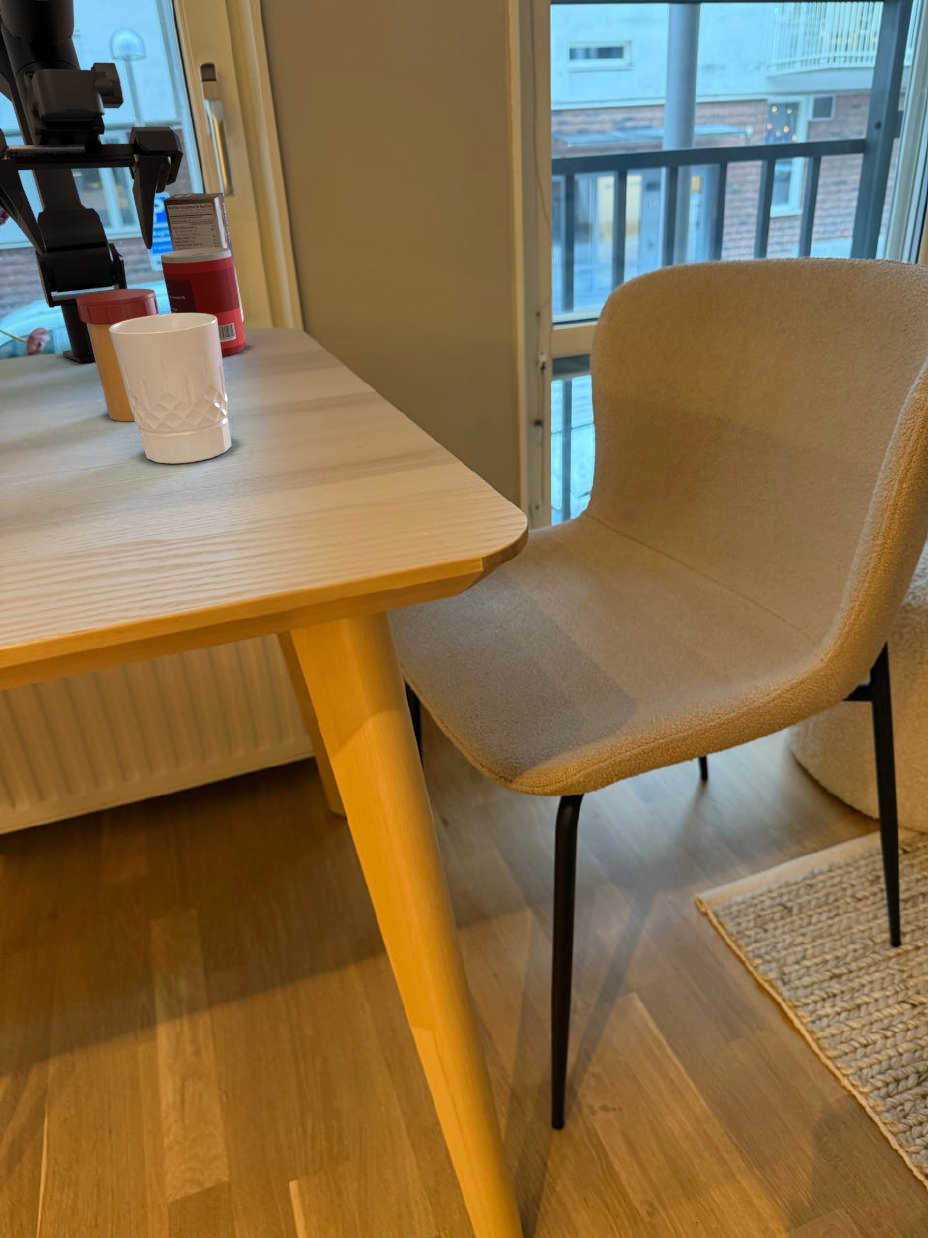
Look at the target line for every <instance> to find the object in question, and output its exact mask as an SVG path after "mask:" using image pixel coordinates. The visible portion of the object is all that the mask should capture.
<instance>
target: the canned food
mask: <svg viewBox="0 0 928 1238" xmlns="http://www.w3.org/2000/svg"><path fill="white" fill-rule="evenodd" d="M160 259H161V260H160V262H161V268H162V274H163V279H164V283H165V288H166V289H165V290H166V295H167V298H168V304H169V310H170V314H174V313H204V314H210V315H214V316H216V317H217V321H218V329H219V337H220V344H221V352H222V358H223V357H228V356H232V355H236V354H238V353H241V352H242V351H243V350H244V349H245V347H246V346H245V345H246V337H245V330H244V324H243V323H244V322H243V323H242V316H241V310H240V304H239V297H238V291H237V285H236V278H235V272H234V266H233V261H232V255H231V252H230V249H227V248H198V249H187V250H179V251H173V250H172V251H167V252H165V253H162V254H161V255H160Z"/></svg>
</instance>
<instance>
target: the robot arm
mask: <svg viewBox="0 0 928 1238" xmlns="http://www.w3.org/2000/svg"><path fill="white" fill-rule="evenodd" d="M74 30H75V9H74V0H0V93H1V94H2V95H3V96H4V97H5V98H6V99H7V100H9V102H10V103H11V104H12V108H13V110H14V114H15V117H16V121H17V125H18V129H19V131H20V132H19V133H20V135H21V139H22V142H23V144H18V145H17V144H16V145H13V144H12V145H8V143H7V140H6V137H5V133H4V131H3V129H2V128H1V127H0V208H1V209H2V210H3V211H4V212H5V213H6V214H7V216H9V218H10V219H12V220H13V221H14V223H15V224H16V225H17V226H18V228H19V229H20V230H21V231H22V234H24V236H25V237H26V238H27V239H28V241H29V242H30V243H31V245H32V246H33V248H34V255H35V259H36V264H37V270H38V275H39V280H40V285H41V288H42V291H43V296H44V298H45V303H46V304H47V307H48V308H50V309H53V308H55V307H60V310H61V314H62V317H63V322H64V326H65V328H66V334H67V338H68V340H69V345H70V349H68V350H63V351H62V355H63V356H64V357H66V358H68V359H71V360H73V361H76V362H78V363H88V362H93V361H96V360H95V356H94V352H93V348H92V344H91V340H90V335H89V331H88V327H87V323H85V322H82V321H81V319H80V315H79V311H78V307H77V305H78V303H77V300H76V298H77V297H79V296H82V295H86V294H90V293H95V292H101V291H109V290H119V289H129V288H128V283H127V278H126V269H125V261H124V260H125V259H124V257H123V256H124V255H122V254H121V253H120V252H119V250H118V249H117V248H116V245H115V243H114V242H109V239H108V237H107V234H106V231H105V228H104V225H103V222H102V220H101V217H100V214H99V213H98V212H97V211H96V210H95V208H93V207H85V205H84V204H83V203H82V200H81V198H80V194H79V191H78V187H77V184H76V180H75V178H74V174H73V170H80V169H81V170H83V169H84V170H85V169H87V170H88V169H117V168H119V169H120V168H121V169H122V168H128V170H129V173H130V177H131V180H133V184H132V189H131V191H132V196H133V200H134V206H135V209H136V215H137V219H138V223H139V228H140V233H141V237H142V240H143V242H144V245H145V247H146V249H147V250H152V249H153V243H154V224H155V223H154V222H155V204H156V203H155V202H156V194H161V193H164V192H165V190H166V186H170V185H172V184H174V183H176V181H177V178H178V174H179V171H180V167H181V163H182V160H183V157H184V150H183V146H182V143H181V140H180V136H179V135H178V134H177V133H176V132H175V131H174V130H173V129H172V128H171V127H170V126H131V129H130V134H129V141H128V143H102V140H101V136H102V135H103V136H104V135H105V130H106V126H105V121H104V118H103V116H105V115H106V112H105V109H120V108H121V106H122V105H124V102H125V100H124V92H123V85H122V82H121V77H120V75H119V72H118V68H117V66H116V63H115V62H95V61H94V62H93V63H92V66H91V67H90V69H82V68H81V65H80V62H79V58H78V54H77V51H76V48H75V43H74V41H73V35H74ZM100 135H101V136H100ZM20 171H31V174H32V176H33V180H34V183H35V187H36V190H37V194H38V197H39V201H40V204H41V208H42V211H39V212H38V215H37V218H36V215H35V213H34V211H33V208H32V206H31V203H30V202H29V198H28V196H27V193H26V191H25V188H24V186H23V182H22V179H21V175H20ZM112 287H113V288H112ZM103 288H111V289H103ZM94 289H103V290H94ZM87 290H93V291H87ZM76 291H85V292H76ZM67 292H76V293H68V294H67ZM52 293H57V294H58V295H52ZM59 293H66V294H59Z"/></svg>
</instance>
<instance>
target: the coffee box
mask: <svg viewBox="0 0 928 1238" xmlns="http://www.w3.org/2000/svg"><path fill="white" fill-rule="evenodd" d="M162 203H163V206H164V213H165V217H166V222H167V227H168V233H169V238H170V243H171V249H172V252H173V251H179V250H187V249H198V248H227V249H230V252H231V255H232V261H233V266H234V272H235V278H236V285H237V291H238V297H239V304H240V310H241V316H242V323H244V320H245V317H244V311H243V306H242V305H243V304H242V300H241V294H240V293H241V292H240V288H239V282H238V281H239V280H238V276H237V268H236V262H235V258H234V250H233V245H232V240H231V239H232V238H231V232H230V227H229V226H230V225H229V222H228V216H227V215H228V214H227V209H226V204H225V197H224V192H212V193H208V192H207V193H206V192H193V193H192V192H191V193H179V194H174V195H171V196H169V197H167V198H165V199H162Z"/></svg>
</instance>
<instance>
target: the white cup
mask: <svg viewBox="0 0 928 1238" xmlns="http://www.w3.org/2000/svg"><path fill="white" fill-rule="evenodd" d="M109 332H110V336H111V340H112V343H113V347H114V350H115V354H116V357H117V361H118V365H119V368H120V372H121V375H122V379H123V383H124V386H125V390H126V394H127V397H128V401H129V404H130V407H131V410H132V413H133V415H134V420H135V421H134V423H135V424H136V425H137V427H138V432H139V434H140V439H141V442H142V446H143V449H144V454H145V457H146V459H148V460H150V461H153V462H155V463H159V464H186V463H195V462H199V461H203V460H208V459H212V458H214V457H217V456H220V455H222V454H224V453H226V452H227V451H228V450H229V449H230V448H231V447H232V439H231V430H230V423H229V417H228V413H229V404H228V394H227V386H226V375H225V374H226V373H225V368H224V360H223V357H222V352H221V344H220V337H219V329H218V321H217V317H216V316H214V315H210V314H204V313H174V314H171V313H164V314H157V315H153V316H146V317H140V318H134V319H130V320H126V321H122V322H119V323H116V324H114V325H112V326H110V327H109Z"/></svg>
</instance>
